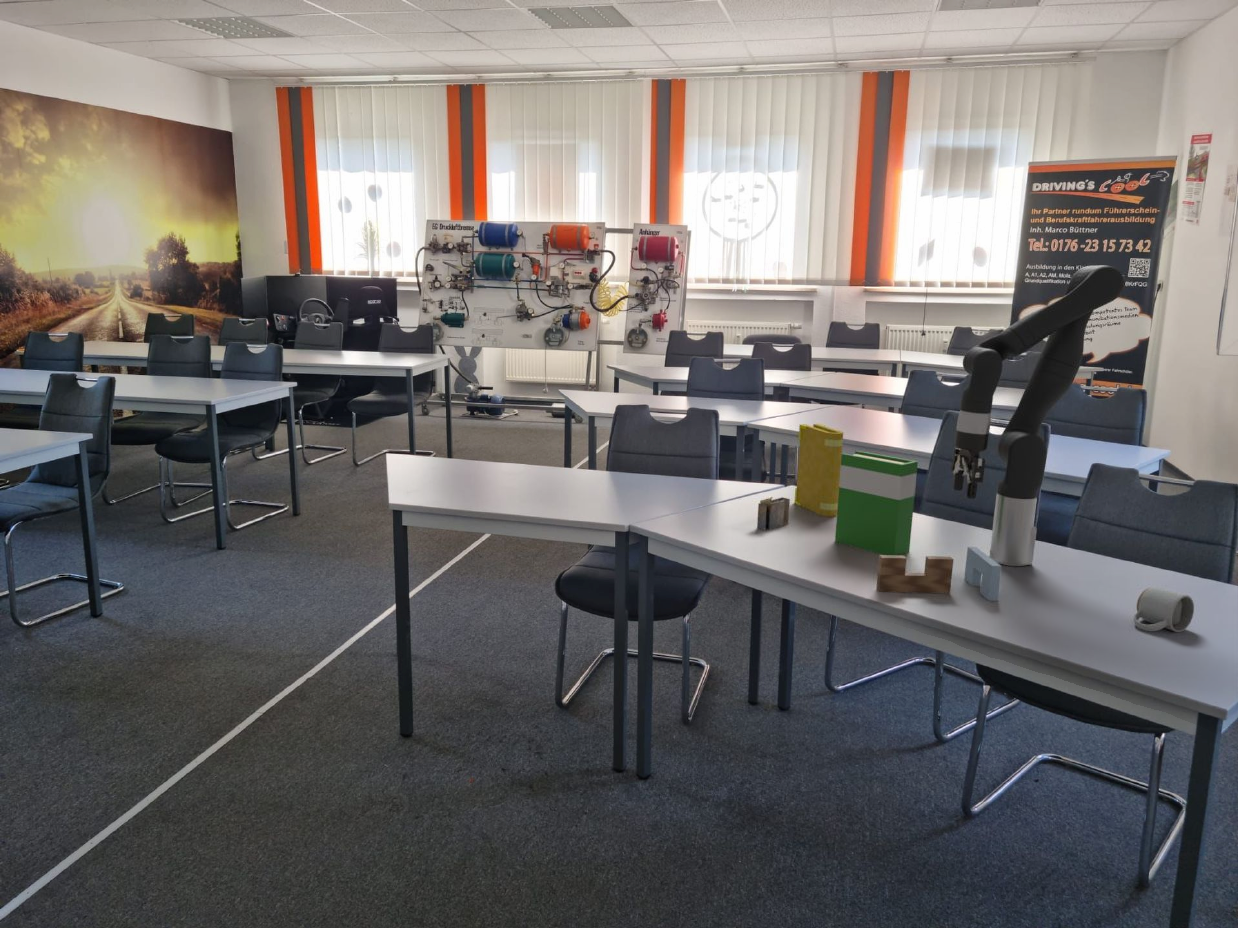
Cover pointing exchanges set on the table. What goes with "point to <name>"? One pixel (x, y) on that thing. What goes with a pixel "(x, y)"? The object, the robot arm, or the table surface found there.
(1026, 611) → the table surface
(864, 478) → the hardback book
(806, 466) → the book
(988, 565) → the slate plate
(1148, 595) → the ceramic mug
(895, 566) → the walnut plate
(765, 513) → the weathered grey slotted block
